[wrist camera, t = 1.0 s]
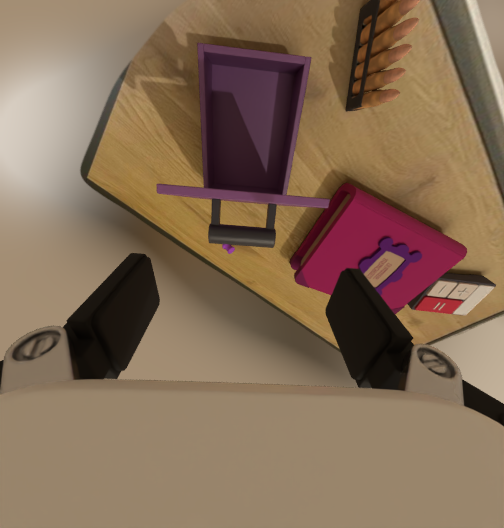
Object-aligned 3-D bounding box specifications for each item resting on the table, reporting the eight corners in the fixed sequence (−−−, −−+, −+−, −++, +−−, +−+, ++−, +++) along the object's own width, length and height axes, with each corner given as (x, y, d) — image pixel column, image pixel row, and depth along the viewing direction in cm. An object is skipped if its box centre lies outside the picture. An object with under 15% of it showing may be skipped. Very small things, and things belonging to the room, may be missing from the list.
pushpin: (224, 236, 45) (223, 243, 42) (236, 243, 46) (236, 249, 43) (220, 244, 46) (219, 250, 43) (232, 249, 47) (231, 256, 44)
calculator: (438, 279, 47) (500, 286, 48) (426, 268, 51) (484, 275, 51) (412, 311, 53) (467, 318, 54) (403, 300, 57) (454, 306, 57)
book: (343, 179, 38) (361, 190, 32) (445, 234, 45) (476, 252, 38) (287, 263, 49) (292, 284, 43) (376, 297, 56) (392, 319, 49)
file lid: (156, 183, 15) (159, 245, 16) (330, 199, 16) (319, 256, 17) (203, 194, 33) (203, 223, 34) (285, 201, 33) (282, 229, 35)
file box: (207, 58, 29) (197, 42, 23) (300, 69, 29) (311, 57, 24) (210, 185, 38) (204, 195, 33) (280, 191, 39) (285, 202, 34)
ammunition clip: (357, 110, 32) (404, 103, 22) (345, 111, 32) (387, 105, 22) (375, 6, 26) (451, -66, 16) (360, 8, 26) (427, -63, 16)
